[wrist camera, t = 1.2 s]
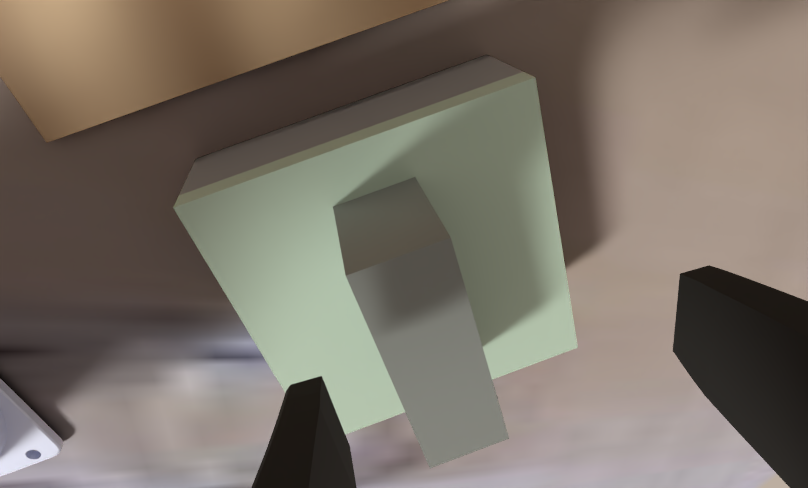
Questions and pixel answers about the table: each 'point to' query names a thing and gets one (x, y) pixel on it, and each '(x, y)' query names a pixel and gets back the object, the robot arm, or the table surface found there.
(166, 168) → the table surface
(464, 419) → the lid
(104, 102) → the cork mat
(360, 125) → the storage box
